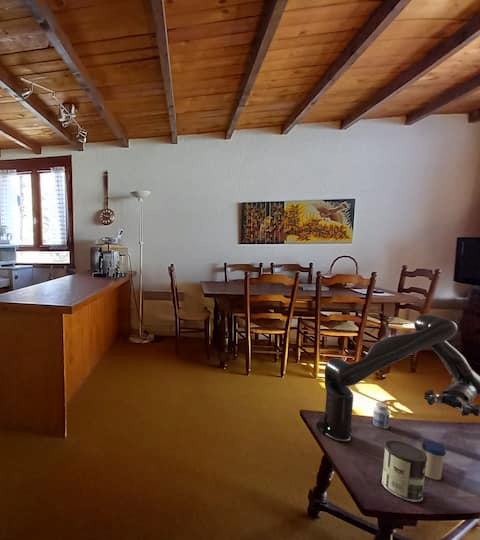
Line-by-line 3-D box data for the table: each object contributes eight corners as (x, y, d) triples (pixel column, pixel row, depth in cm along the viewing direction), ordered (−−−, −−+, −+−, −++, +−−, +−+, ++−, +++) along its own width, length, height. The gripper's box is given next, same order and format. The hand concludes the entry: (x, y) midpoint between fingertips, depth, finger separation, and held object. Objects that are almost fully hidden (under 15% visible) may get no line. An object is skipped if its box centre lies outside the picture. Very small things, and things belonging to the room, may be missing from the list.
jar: (423, 476, 107) (426, 448, 106) (417, 466, 112) (419, 439, 111) (444, 482, 105) (447, 453, 104) (436, 471, 110) (439, 444, 109)
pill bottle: (382, 422, 139) (384, 402, 138) (391, 429, 134) (393, 408, 133) (369, 421, 140) (371, 401, 139) (378, 428, 135) (380, 407, 134)
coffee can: (417, 485, 103) (421, 446, 102) (427, 507, 95) (432, 465, 93) (378, 472, 109) (381, 436, 107) (384, 493, 100) (388, 453, 99)
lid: (447, 452, 107) (447, 447, 106) (442, 458, 103) (443, 453, 103) (424, 443, 111) (425, 438, 111) (419, 448, 108) (420, 443, 108)
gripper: (484, 413, 115) (474, 427, 106) (432, 396, 127) (418, 408, 118) (487, 394, 114) (476, 406, 105) (434, 379, 126) (420, 389, 118)
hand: (446, 407), depth 112 cm, fingers open, 8 cm apart
